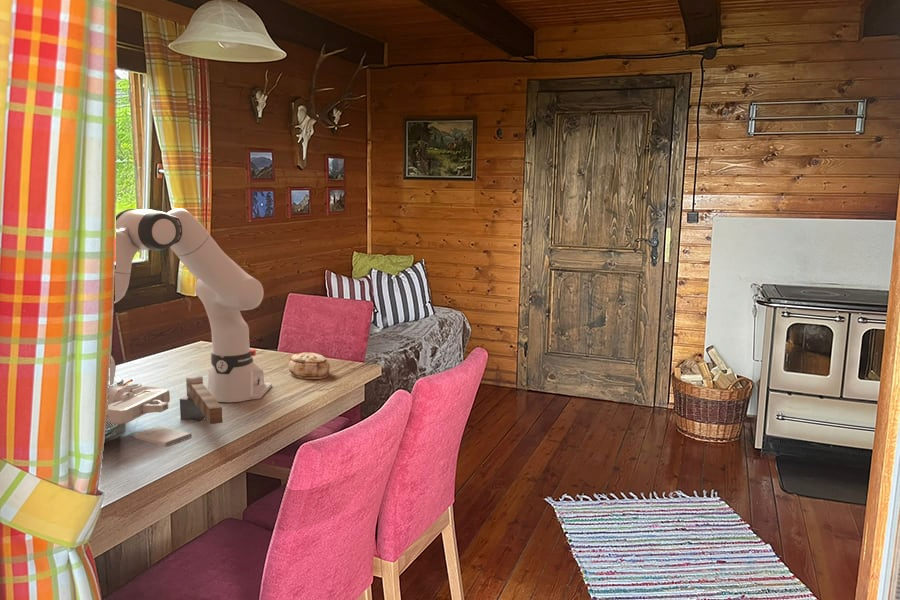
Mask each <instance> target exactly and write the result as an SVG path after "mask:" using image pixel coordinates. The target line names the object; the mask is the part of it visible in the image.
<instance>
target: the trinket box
mask: <svg viewBox="0 0 900 600" xmlns="http://www.w3.org/2000/svg"><path fill="white" fill-rule="evenodd" d="M330 367H331V366H330V362H329V360H328V359H327V357H325V356H324V355H322V354H321V353H319V352H300V353H296V354H292V355H291V356H290V358H289V361H288V363H287V368H288V371H289V373H290V375H291V376H293V377H295V378H296V377H297V378H299V379H308V380H309V379H310V380H320V379H324V378H327V377H328V373H329V372H330Z"/></svg>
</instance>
